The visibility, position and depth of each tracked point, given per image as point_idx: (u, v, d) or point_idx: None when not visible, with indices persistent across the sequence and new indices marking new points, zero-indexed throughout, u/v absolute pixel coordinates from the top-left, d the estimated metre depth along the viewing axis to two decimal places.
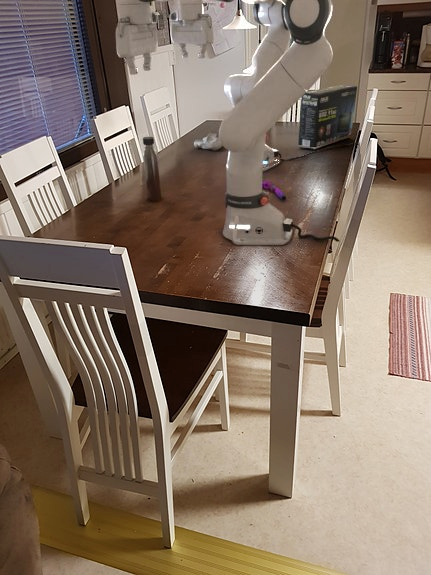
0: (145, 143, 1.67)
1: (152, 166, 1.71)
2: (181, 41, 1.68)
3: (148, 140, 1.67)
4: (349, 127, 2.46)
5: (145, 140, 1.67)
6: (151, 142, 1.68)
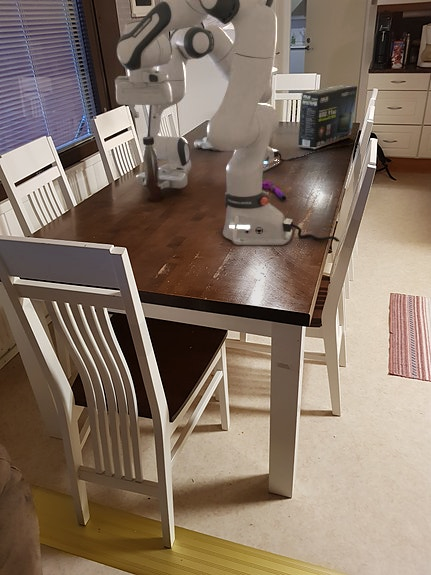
0: (145, 143, 1.67)
1: (152, 166, 1.71)
2: None
3: (148, 140, 1.67)
4: (349, 127, 2.46)
5: (145, 140, 1.67)
6: (151, 142, 1.68)
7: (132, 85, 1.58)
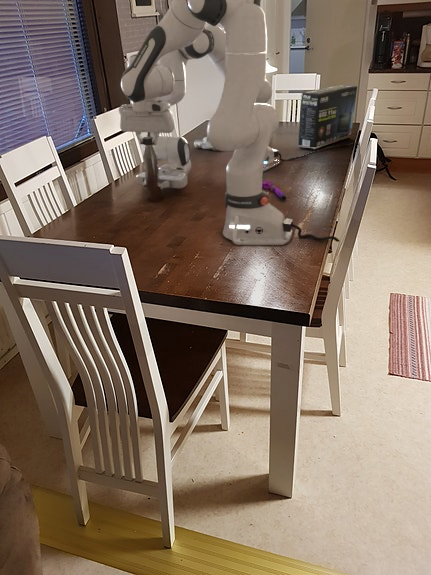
0: (145, 143, 1.67)
1: (152, 166, 1.71)
2: None
3: (148, 140, 1.67)
4: (349, 127, 2.46)
5: (145, 140, 1.67)
6: (151, 142, 1.68)
7: (135, 113, 1.63)
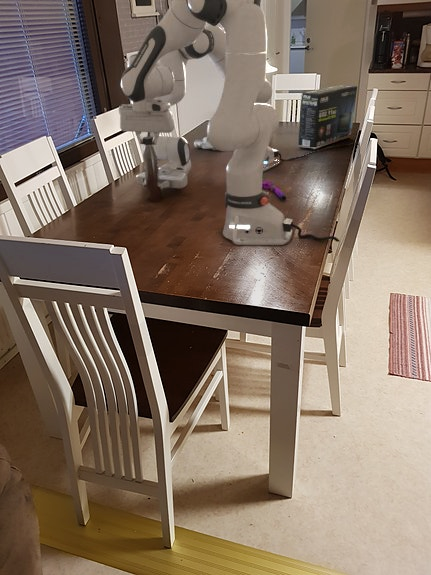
0: (151, 142, 1.68)
1: (152, 166, 1.71)
2: None
3: None
4: (349, 127, 2.46)
5: (151, 139, 1.67)
6: None
7: (135, 113, 1.63)
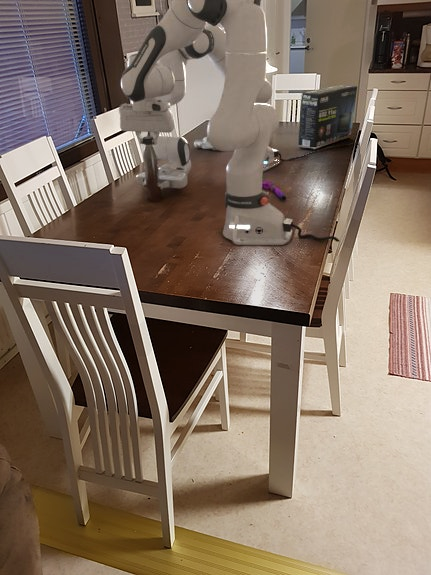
0: None
1: (152, 166, 1.71)
2: None
3: None
4: (349, 127, 2.46)
5: None
6: None
7: (135, 113, 1.63)
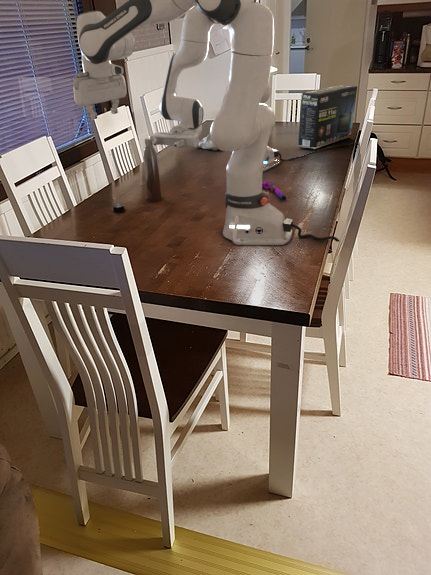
0: (122, 210, 1.69)
1: (152, 166, 1.71)
2: None
3: (123, 206, 1.70)
4: (349, 127, 2.46)
5: (122, 207, 1.69)
6: None
7: (96, 81, 1.45)
